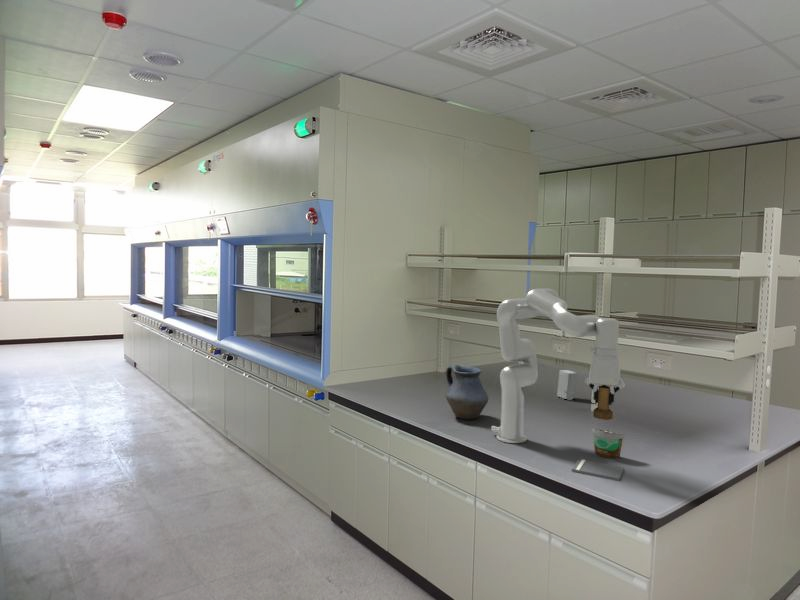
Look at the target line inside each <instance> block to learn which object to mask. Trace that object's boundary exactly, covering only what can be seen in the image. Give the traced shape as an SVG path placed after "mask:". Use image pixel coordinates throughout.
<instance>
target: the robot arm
mask: <svg viewBox="0 0 800 600" xmlns="http://www.w3.org/2000/svg"><path fill="white" fill-rule="evenodd" d="M541 315H543V316H546V317H547V318H550V319H551V320H552V321H553V323H554V324H555V326H556V327H557V328H558V329H560V330H562V331H563V332H565V333H567V334H568V335H570V336H572V337H576V338H584V337H585V338H586V337H595V344H594V346H595V347H593V348H592V347H591V348H590V352H591V353H593V355H592V357H591V360H590V364H589V373H588V376H587V377H586V378H585V379H584V384H586V385H587V386H589V388H590V389H591V390H592V391H593V400H594V401H595V402H594V403H595V404H598V388H599V386H602V385H607V386H608V387H610V394H609V406H611V405H612V403H613V404H614V402H615V393H617V392H618V391H619V390H622V389H624V388H625V387H626V384H625V382H624V380H623V379H622V377H621V360H620V357H618V353H619V352H618V350H619V349H618V348H619V331H620V330H619V327H620V324H619V323H620V322H619V320H618V319H616V318H613V317H612V318H610V317H609V318H608V317H601V316H596V315H581V316H579V315H577V314H574V313H571V312H570V311H568V304H567V302H566V301H565V300H564V299H562V298H560V296H559V294H558V293H557V291H556V290H554V289H552V288H533V289H531V290H529V291H528V292H527V294H526V297H525V298H522V297H521V298H508V299H505V300H503V301H502V302H501V303H500V304H499V305H498V308H497V310H496V320H497V326H498V330H499V331H498V332H499V342H500V352H501V357H502V359H503V360H504V361H505V362H507V363H514V362H515V363H516V362H518V364H513V365H512V364H511V365H508V366H505V367H503V368H502V369H501V371H500V374H499V382H500V390H501V397H500V399H501V402H500V403H501V405H500V425H499V426H496V425H491V428H490V430H491V431H492V432H493V433H496V439H497V440H499V441H500V442H504V443H509V444H522V443H525V442H526V441H527V435H525V434H524V419H525V395H524V393H523V389H522V388H523V387H529V386H533V385H534V384H535V383H536V382H537V381H538V378H539V377H538V376H539V371H538V370H539V369H538V360H537V359H538V358H537V351H536V346H535V345H534V343H533V342H532V340H531V339H528V338H522V337H521V330H520V326H519V325H518V324H517V323H518V322H517V321H516V319H532V318H536V317H538V316H541Z"/></svg>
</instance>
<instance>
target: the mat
mask: <svg viewBox="0 0 800 600" xmlns="http://www.w3.org/2000/svg"><path fill="white" fill-rule="evenodd" d="M624 470H625V469H624V467H622V466H618V465H611V464H606V463H602V462H601V463H600V462H595V461H589V460H586V459H579V458H578V459H577V460H576V462H575V464H574V465H573V467H572V468H571V472H573V471H574V473H578V472H579V473H580V474H583V473H585V474H584V475H588V474H590V476H593V475H596V476H595V477H598V476H601V477H600V478H603V477H604V479H608V478H609V480H613V479H614V480H615V481H618V480H619V481H620V479H621V477H622V475H623V472H624ZM614 480H613V481H614Z"/></svg>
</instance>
